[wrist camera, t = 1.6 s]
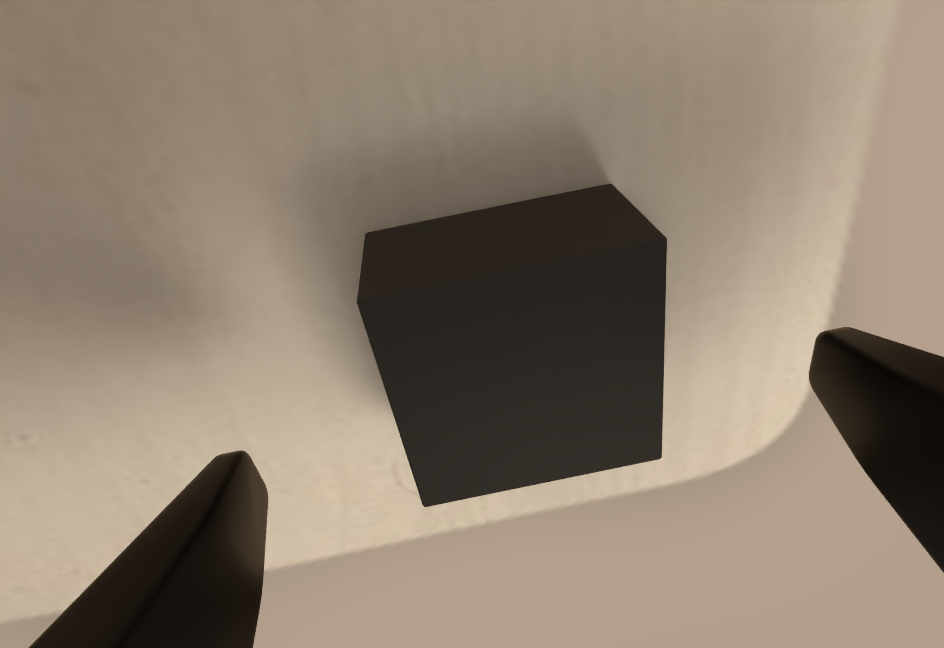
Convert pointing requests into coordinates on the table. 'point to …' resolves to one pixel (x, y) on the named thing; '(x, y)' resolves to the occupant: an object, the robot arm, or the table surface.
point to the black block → (520, 340)
